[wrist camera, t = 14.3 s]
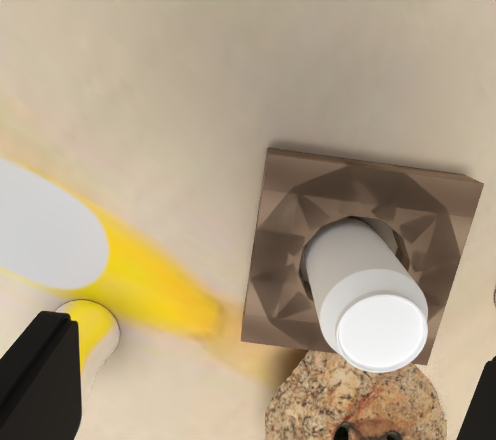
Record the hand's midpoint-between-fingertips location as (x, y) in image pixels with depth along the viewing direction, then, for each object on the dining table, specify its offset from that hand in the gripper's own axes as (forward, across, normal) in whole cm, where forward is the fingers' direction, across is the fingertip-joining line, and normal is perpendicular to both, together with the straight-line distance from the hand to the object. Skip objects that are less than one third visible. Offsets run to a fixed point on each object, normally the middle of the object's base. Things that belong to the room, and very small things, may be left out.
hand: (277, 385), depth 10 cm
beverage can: (+24, -7, +7) cm, 26 cm away
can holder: (+23, -8, +7) cm, 26 cm away
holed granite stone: (+23, -11, +21) cm, 33 cm away
